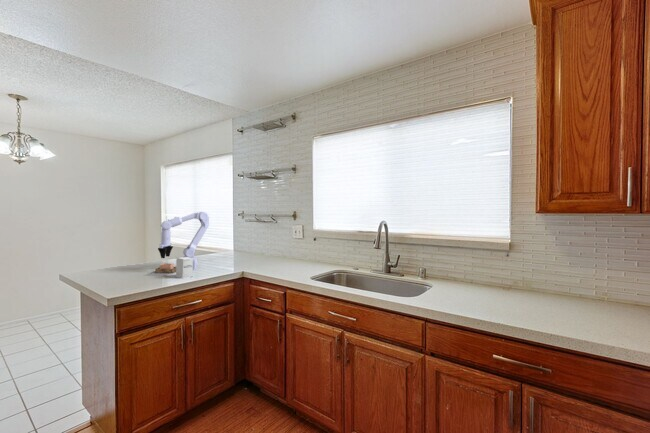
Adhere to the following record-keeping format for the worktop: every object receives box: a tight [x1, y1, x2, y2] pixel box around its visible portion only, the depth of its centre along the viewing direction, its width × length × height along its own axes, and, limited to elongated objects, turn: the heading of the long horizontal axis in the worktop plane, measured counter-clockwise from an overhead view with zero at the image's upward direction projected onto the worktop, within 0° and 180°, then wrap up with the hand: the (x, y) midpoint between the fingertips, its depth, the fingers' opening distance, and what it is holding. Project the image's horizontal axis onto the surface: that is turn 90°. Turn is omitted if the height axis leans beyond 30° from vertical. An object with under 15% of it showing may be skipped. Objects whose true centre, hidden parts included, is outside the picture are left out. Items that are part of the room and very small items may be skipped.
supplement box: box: [175, 256, 194, 279], centre depth 199 cm, size 7×7×13 cm
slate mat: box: [143, 270, 169, 277], centre depth 207 cm, size 13×17×1 cm
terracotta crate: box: [159, 263, 175, 269], centre depth 211 cm, size 7×5×5 cm
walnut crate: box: [154, 266, 176, 275], centre depth 211 cm, size 11×9×3 cm
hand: (165, 257), depth 215 cm, fingers open, 7 cm apart
